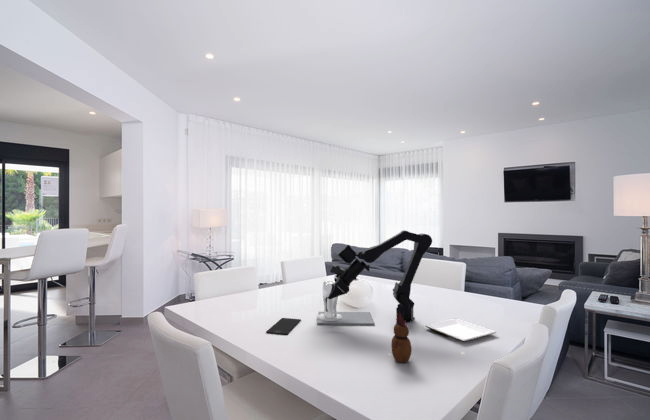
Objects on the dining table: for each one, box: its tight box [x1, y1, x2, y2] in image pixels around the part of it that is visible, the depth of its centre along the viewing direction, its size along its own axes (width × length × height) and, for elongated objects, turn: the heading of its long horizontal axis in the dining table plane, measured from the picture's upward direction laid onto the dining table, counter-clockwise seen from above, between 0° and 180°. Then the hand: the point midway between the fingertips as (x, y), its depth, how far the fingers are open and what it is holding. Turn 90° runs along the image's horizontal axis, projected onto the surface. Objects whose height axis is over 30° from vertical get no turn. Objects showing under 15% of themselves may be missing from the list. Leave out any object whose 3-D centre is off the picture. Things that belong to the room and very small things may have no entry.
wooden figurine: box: [390, 311, 413, 364], centre depth 101 cm, size 7×6×15 cm
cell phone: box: [265, 317, 302, 336], centre depth 132 cm, size 9×18×1 cm, turn 167°
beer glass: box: [322, 280, 339, 319], centre depth 142 cm, size 7×7×15 cm
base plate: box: [316, 311, 376, 326], centre depth 142 cm, size 24×16×1 cm, turn 89°
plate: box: [424, 318, 497, 343], centre depth 125 cm, size 19×19×2 cm
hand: (328, 296), depth 142 cm, fingers open, 9 cm apart
